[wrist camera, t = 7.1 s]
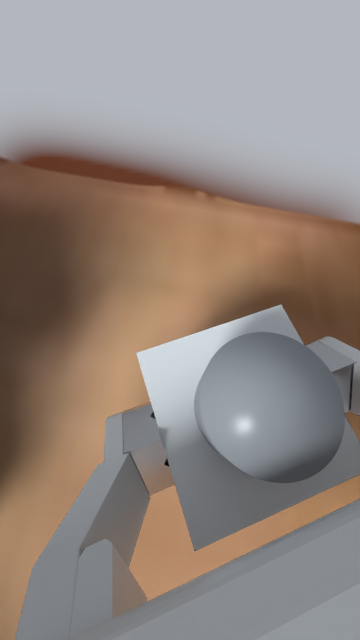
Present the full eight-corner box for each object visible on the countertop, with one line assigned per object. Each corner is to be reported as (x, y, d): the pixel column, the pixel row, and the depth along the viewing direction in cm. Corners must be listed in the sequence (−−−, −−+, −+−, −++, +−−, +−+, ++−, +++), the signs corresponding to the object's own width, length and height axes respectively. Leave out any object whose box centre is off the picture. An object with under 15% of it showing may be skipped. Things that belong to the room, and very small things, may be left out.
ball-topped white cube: (185, 483, 11) (203, 617, 4) (155, 384, 13) (121, 329, 5) (277, 445, 12) (459, 486, 4) (236, 355, 14) (312, 268, 6)
